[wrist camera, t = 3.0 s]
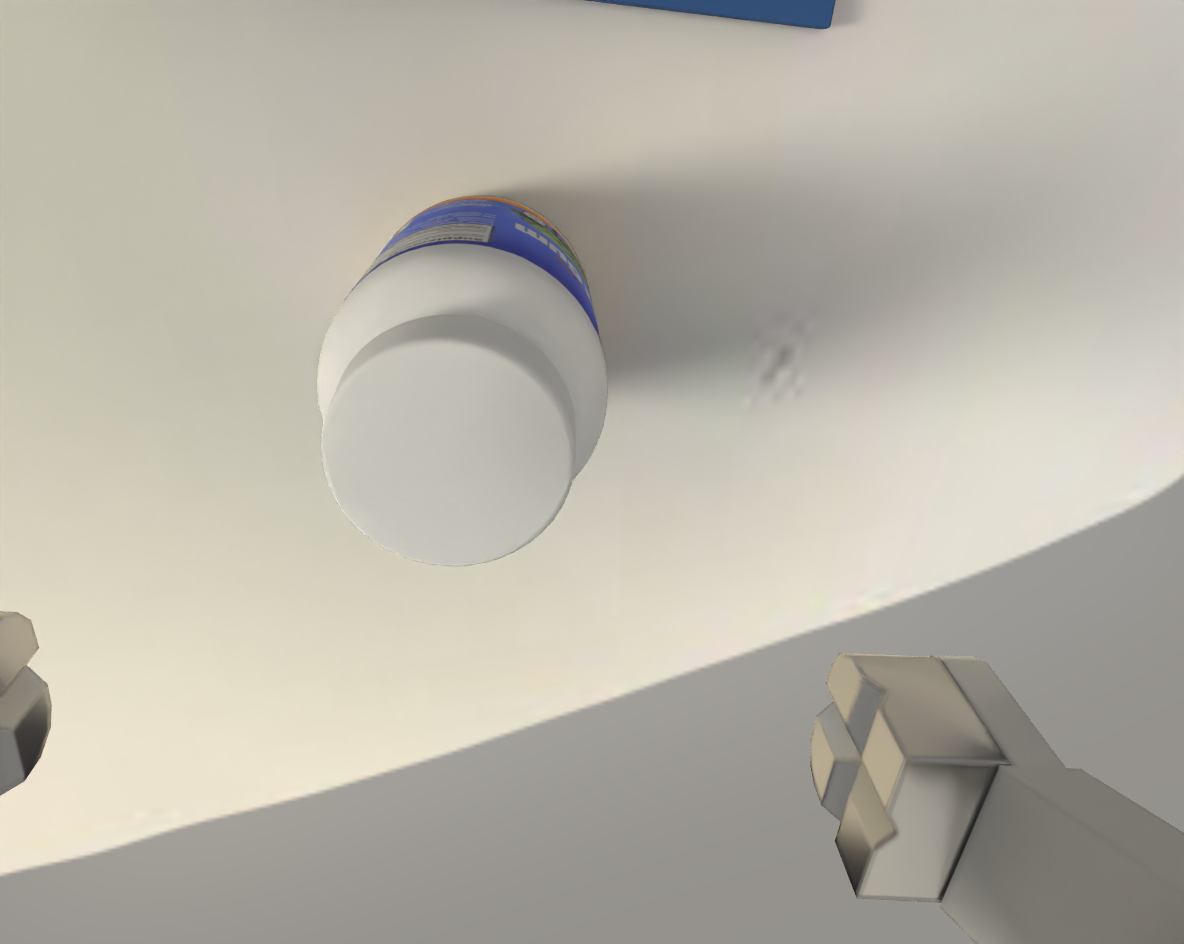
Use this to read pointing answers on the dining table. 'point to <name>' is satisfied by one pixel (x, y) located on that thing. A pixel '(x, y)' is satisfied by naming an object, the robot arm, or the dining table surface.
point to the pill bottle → (462, 384)
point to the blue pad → (749, 10)
